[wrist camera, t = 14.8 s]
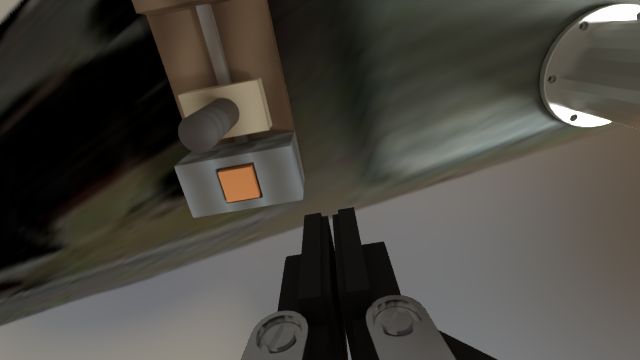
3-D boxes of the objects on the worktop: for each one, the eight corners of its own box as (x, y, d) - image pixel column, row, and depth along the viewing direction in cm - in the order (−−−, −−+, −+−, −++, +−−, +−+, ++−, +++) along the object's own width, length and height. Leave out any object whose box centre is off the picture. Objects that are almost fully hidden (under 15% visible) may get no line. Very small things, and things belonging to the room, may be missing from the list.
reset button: (255, 157, 36) (250, 166, 33) (263, 185, 37) (259, 197, 35) (225, 162, 36) (217, 172, 34) (234, 190, 38) (227, 202, 35)
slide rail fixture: (259, -34, 33) (245, -51, 27) (305, 174, 42) (302, 199, 35) (144, -9, 34) (103, -19, 27) (212, 190, 43) (193, 217, 36)
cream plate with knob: (260, 77, 34) (238, 92, 25) (272, 124, 36) (255, 155, 27) (186, 91, 35) (136, 112, 25) (201, 137, 37) (160, 172, 27)
